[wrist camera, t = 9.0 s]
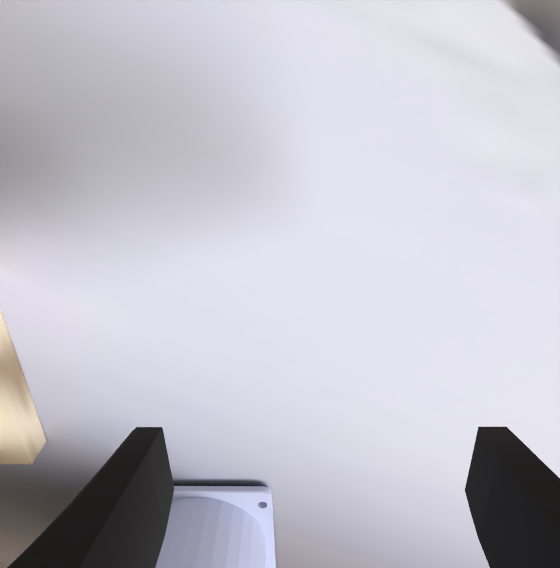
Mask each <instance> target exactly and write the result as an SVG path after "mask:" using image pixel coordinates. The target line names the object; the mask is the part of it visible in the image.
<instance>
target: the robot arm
mask: <svg viewBox="0 0 560 568" xmlns="http://www.w3.org/2000/svg"><path fill="white" fill-rule="evenodd" d="M465 492H466V496H467V500H468V503H469V507H470V511H471V515H472V518H473V522H474V525H475V528H476V532H477V535H478V538H479V541H480V543H481V546H482V549H483V551H484V554H485V556H486V559H487V561H488V564H489V566H490V568H560V478H559V477H558V476H557V475H556V474H554V473H553V472H552V471H551V470H550V469H549V468H548V467H547V466H546V465H545V464H544V463H543V462H542V461H541V460H540V459H539V458H538V457H537V456H536V455H535V454H534V453H533V452H532V451H531V450H530V449H529V448H528V447H527V446H526V445H525V444H524V443H523V442H522V441H521V440H520V439H518V438H517V437H516V436H515V435H514V434H513V433H512V432H511V431H510V430H509V429H508V428H507V427H478V432H477V437H476V441H475V446H474V451H473V455H472V460H471V465H470V469H469V474H468V478H467V483H466V488H465ZM7 568H276V560H275V542H274V525H273V507H272V492H271V490H270V489H269V488H267V487H263V486H174V485H173V480H172V475H171V470H170V465H169V460H168V454H167V449H166V444H165V439H164V434H163V429H162V427H136V428H135V429H134V430H133V431H132V432H131V433H130V435H129V436H128V437H127V438H126V439H125V441H124V442H123V443H122V444H121V445H120V447H119V448H118V449H117V450H116V451H115V453H114V454H113V455H112V456H111V457H110V458H109V460H108V461H107V462H106V463H105V464H104V466H103V467H102V468H101V469H100V470H99V471H98V473H97V474H96V475H95V476H94V477H93V478H92V480H91V481H90V482H89V483H88V484H87V485H86V486H85V487H84V489H83V490H82V491H81V492H80V493H79V494H78V495H77V496H76V497H75V499H74V500H73V501H72V502H71V503H70V504H69V505H68V506H67V508H66V509H65V510H64V511H63V512H62V513H61V514H60V515H59V516H58V517H57V518H56V519H55V520H54V521H53V522H52V523H51V524H50V525H49V526H48V527H47V529H46V530H45V531H44V532H43V533H42V534H41V535H40V536H39V537H38V538H37V539H36V540H35V541H34V542H33V543H32V544H31V545H30V546H29V547H28V548H27V549H26V550H25V551H24V552H23V553H22V554H21V555H20V556H19V557H18V558H17V559H16V560H15V561H14V562H13V563H12V564H11V565H10V566H9V567H7Z"/></svg>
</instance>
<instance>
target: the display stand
mask: <svg viewBox="0 0 560 568" xmlns="http://www.w3.org/2000/svg"><path fill="white" fill-rule="evenodd" d="M45 443H46V438H45V435H44V432H43V429H42V426H41V423H40V421H39V418H38V415H37V412H36V409H35V406H34V403H33V401H32V398H31V395H30V392H29V389H28V386H27V383H26V381H25V378H24V375H23V372H22V369H21V366H20V363H19V361H18V358H17V355H16V352H15V349H14V346H13V343H12V340H11V338H10V335H9V332H8V329H7V326H6V323H5V320H4V318H3V315H2V312H1V309H0V464H32V463H33V461H34V460H35V458H36V457H37V455H38V454H39V452H40V450H41V449H42V447H43V446H44V444H45Z"/></svg>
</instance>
